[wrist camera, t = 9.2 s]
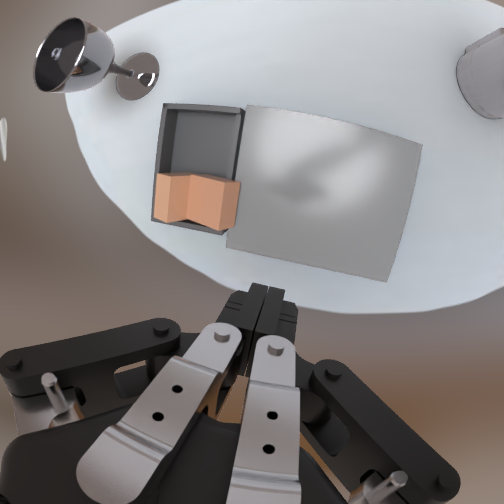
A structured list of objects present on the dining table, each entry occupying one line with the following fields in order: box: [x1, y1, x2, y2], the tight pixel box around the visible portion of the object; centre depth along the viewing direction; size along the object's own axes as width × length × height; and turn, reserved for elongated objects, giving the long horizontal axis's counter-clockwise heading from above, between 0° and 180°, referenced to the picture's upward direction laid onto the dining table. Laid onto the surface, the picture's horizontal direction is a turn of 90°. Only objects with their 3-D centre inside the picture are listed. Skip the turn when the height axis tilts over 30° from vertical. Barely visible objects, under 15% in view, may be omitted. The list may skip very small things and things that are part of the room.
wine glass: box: [33, 17, 159, 100], centre depth 23 cm, size 8×8×15 cm
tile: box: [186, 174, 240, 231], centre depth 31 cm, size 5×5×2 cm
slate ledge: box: [226, 105, 422, 282], centre depth 30 cm, size 16×19×3 cm
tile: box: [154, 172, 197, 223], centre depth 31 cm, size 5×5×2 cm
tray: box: [151, 103, 246, 235], centre depth 31 cm, size 14×9×4 cm, turn 171°
